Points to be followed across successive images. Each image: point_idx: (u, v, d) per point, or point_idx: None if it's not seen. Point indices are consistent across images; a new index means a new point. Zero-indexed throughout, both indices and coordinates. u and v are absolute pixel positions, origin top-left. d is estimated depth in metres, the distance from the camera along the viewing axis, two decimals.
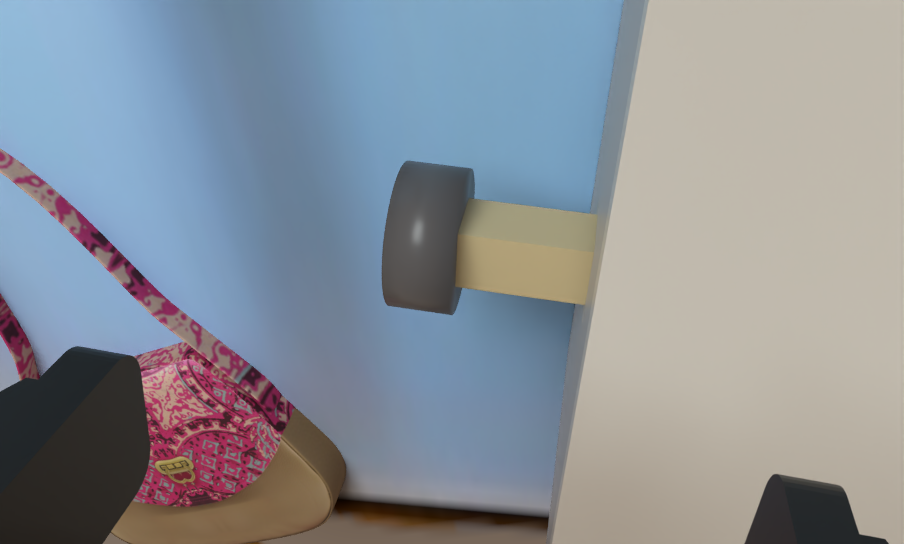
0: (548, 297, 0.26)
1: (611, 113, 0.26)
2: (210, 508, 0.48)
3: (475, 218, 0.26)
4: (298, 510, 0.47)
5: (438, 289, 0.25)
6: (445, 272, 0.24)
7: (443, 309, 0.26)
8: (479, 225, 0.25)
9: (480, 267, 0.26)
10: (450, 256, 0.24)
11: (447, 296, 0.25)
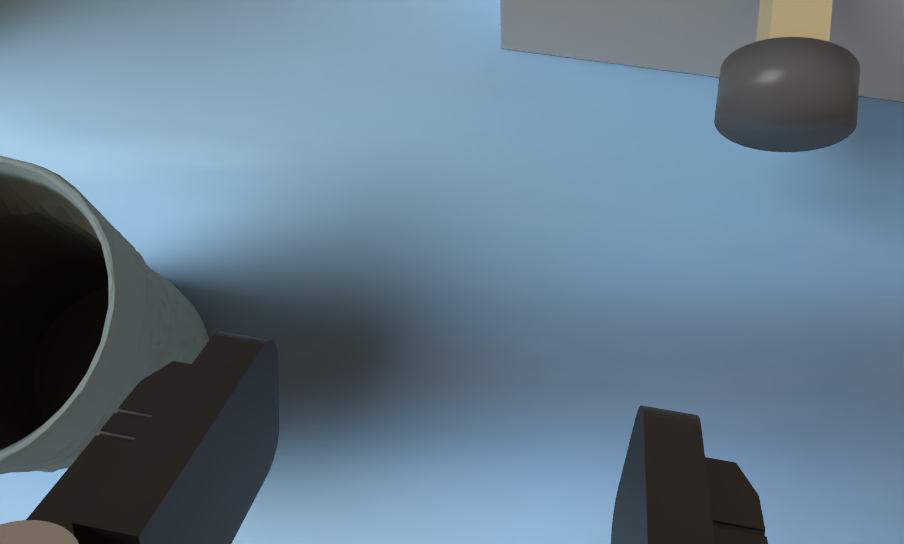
0: None
1: (681, 0, 0.34)
2: None
3: None
4: None
5: (814, 46, 0.28)
6: (794, 40, 0.28)
7: (842, 52, 0.28)
8: None
9: None
10: (778, 38, 0.28)
11: (822, 40, 0.28)
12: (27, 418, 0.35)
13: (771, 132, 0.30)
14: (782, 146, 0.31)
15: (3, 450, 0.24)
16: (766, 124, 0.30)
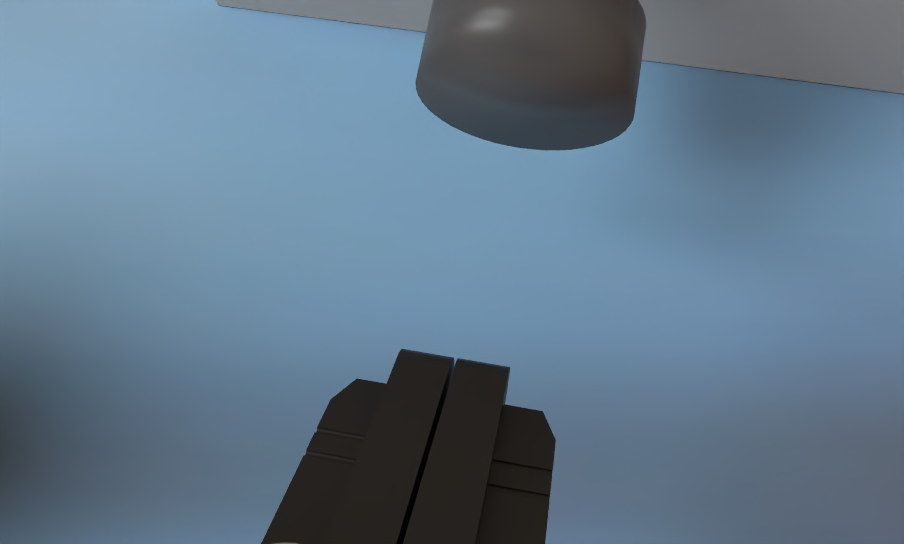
0: None
1: None
2: None
3: None
4: None
5: None
6: None
7: None
8: None
9: None
10: None
11: None
12: None
13: (513, 117, 0.19)
14: (544, 141, 0.19)
15: None
16: (499, 104, 0.18)
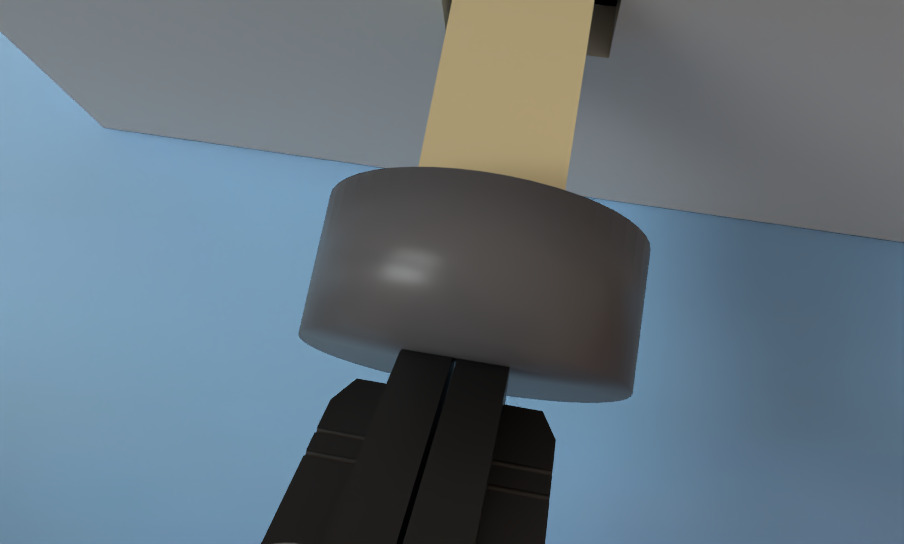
0: (583, 25, 0.12)
1: (329, 52, 0.16)
2: None
3: None
4: None
5: (490, 196, 0.10)
6: (441, 176, 0.10)
7: (574, 208, 0.10)
8: None
9: (503, 158, 0.11)
10: (407, 170, 0.10)
11: (514, 179, 0.10)
12: None
13: None
14: None
15: None
16: None
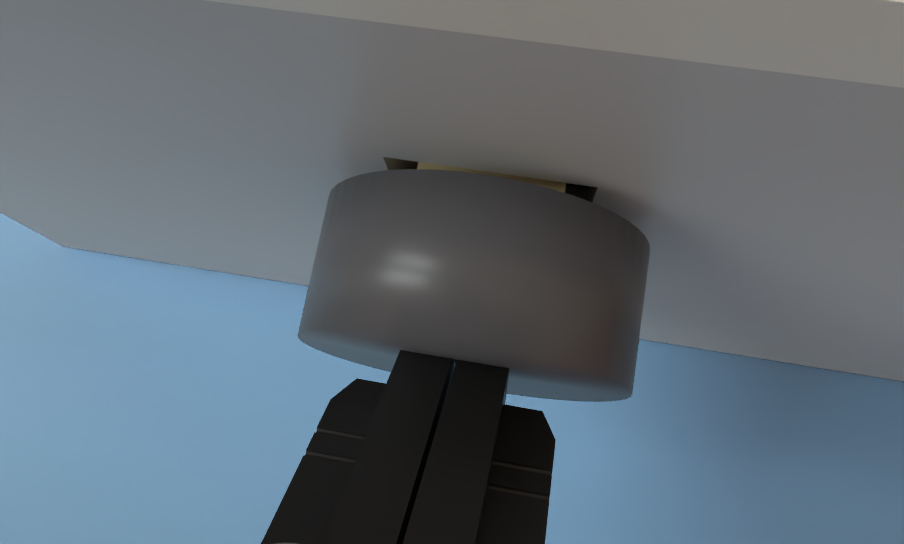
0: None
1: (286, 221, 0.15)
2: None
3: None
4: None
5: (489, 200, 0.10)
6: (439, 179, 0.10)
7: (574, 210, 0.10)
8: None
9: None
10: (406, 172, 0.10)
11: (514, 182, 0.10)
12: None
13: None
14: None
15: None
16: None
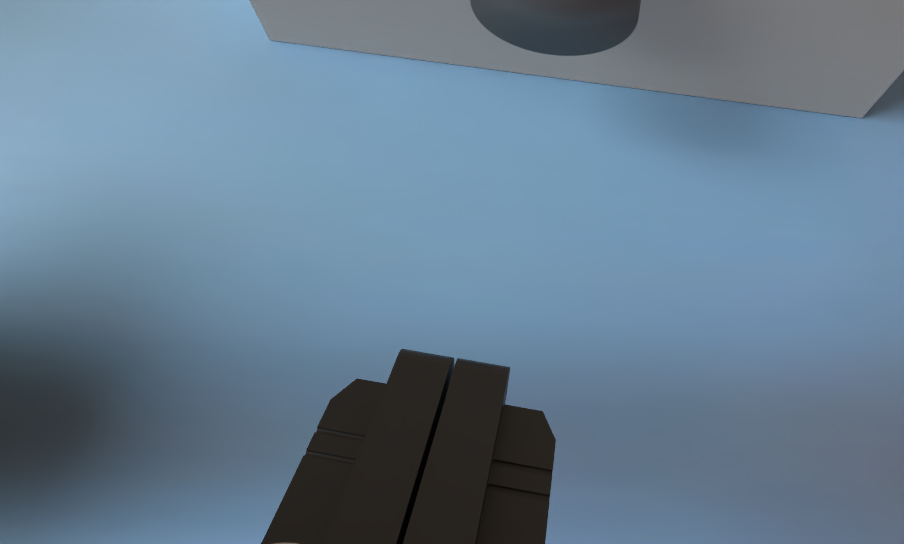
0: None
1: None
2: None
3: None
4: None
5: None
6: None
7: None
8: None
9: None
10: None
11: None
12: None
13: (545, 25, 0.24)
14: (568, 47, 0.25)
15: None
16: (534, 13, 0.23)
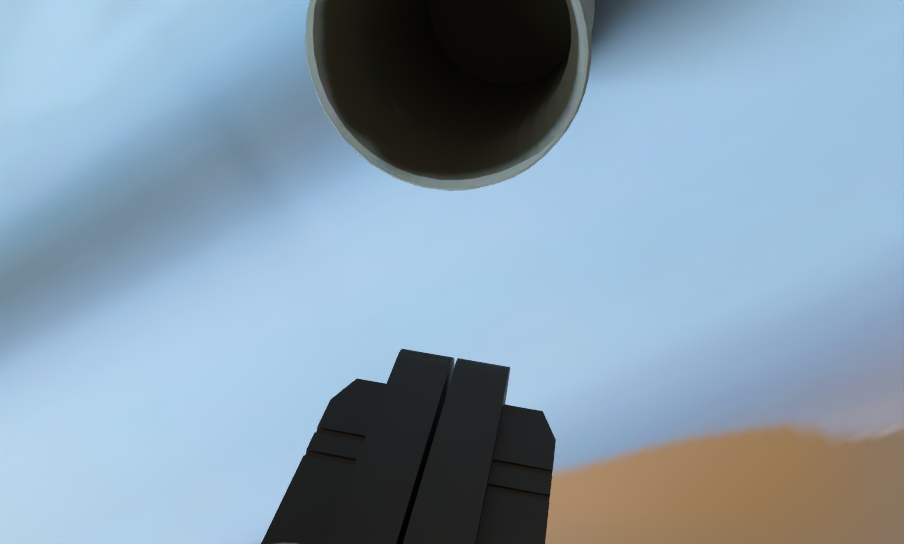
0: None
1: None
2: None
3: None
4: None
5: None
6: None
7: None
8: None
9: None
10: None
11: None
12: (473, 85, 0.40)
13: None
14: None
15: (557, 127, 0.30)
16: None
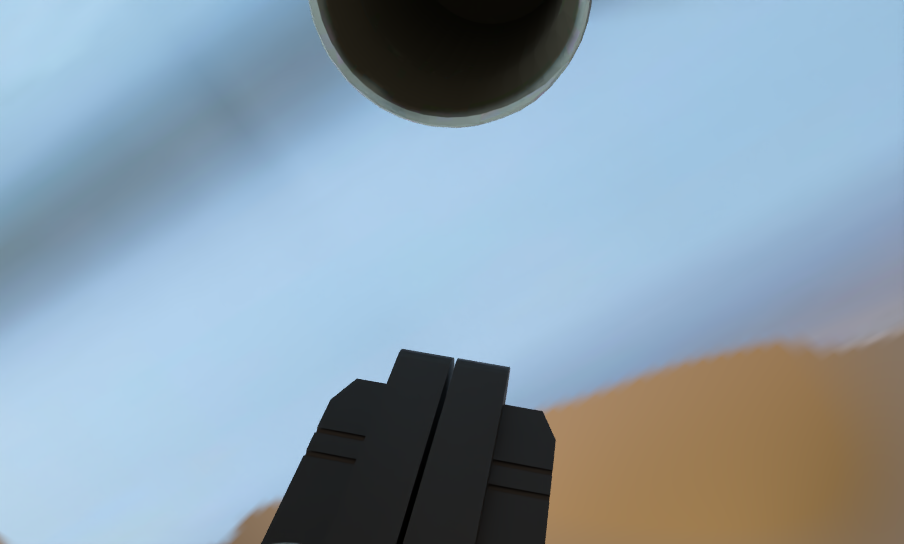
0: None
1: None
2: None
3: None
4: None
5: None
6: None
7: None
8: None
9: None
10: None
11: None
12: (461, 26, 0.41)
13: None
14: None
15: (562, 57, 0.30)
16: None
